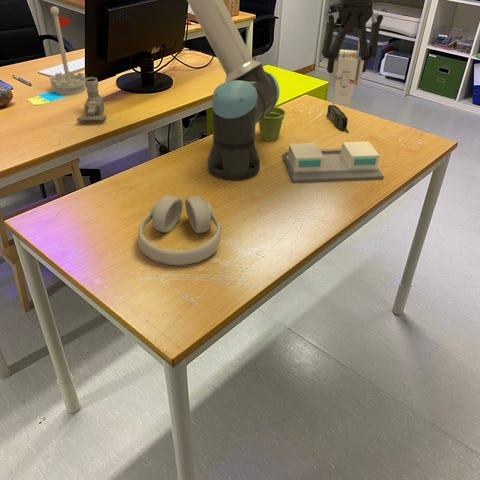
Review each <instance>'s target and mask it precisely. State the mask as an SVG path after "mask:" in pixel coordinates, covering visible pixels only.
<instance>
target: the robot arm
mask: <svg viewBox="0 0 480 480" xmlns="http://www.w3.org/2000/svg"><path fill="white" fill-rule="evenodd" d="M374 1H375V0H340V6H339V8H338V10H337V11H336V12H328V13H326V27H325V33H324V38H323V45H322V48H321V55H322V57H324V58H325V59H327V67H326V71H327V73H328V74H329V79H328V84H329V86H330V87H331V88H335V80H336V71H337V64H338V59H337V55H339V51H340V48H342V47H341V46H342V44H343V42H344V39H345V38H346V35H347V34H348V33H349V31H350V30H357V34H358V42H359V52H360V56H361V57H358V64H357V71H356V77H355V83H354V86H355V87H357V88H358V87H361V82H362V75H363V73H366V71H367V65H368V62H369V61H370V59H371V58H375V57H376V56H377V53H378V52H377V51H378V45H379V44H378V43H379V35H380V29H381V28H380V27H381V24H382V23H383V19H384V15H383V14H381V13H379V12H375V11H374V10H373V6H374ZM186 2H187V3H188V5H189V7H190V9H191V11H192V12H193V14H194V15H193V16H195V18H196V20H197V22H198V24H199V26H200V28H201V30H202V31H203V33H204V35H205V37H206V39H207V41H208V43H209V45H210V47H211V48H212V50H213V52H214V54H215V56H216V58H217V60H218V62H219V64H220V66H221V67H222V69H223V70H222V71H224V73H225V74H226V77H225V80H224V82H222V83H220V84H219V85H217V86H216V87H215V88H214V90H213V92H212V101H211V107H212V139H213V140H212V145H211V148H210V151H209V154H208V156H207V162H206V163H207V164H206V166H207V171H208V172H209V174H210V175H212V176H213V177H216V178H217V179H218V178H219V179H222V180H227V181H243V180H248V179H250V178H252V177H255V176H256V175H257V174H258V173H259V171H260V168H261V167H260V166H261V165H260V163H261V162H260V157H259V154H258V150H257V146H256V143H255V142H256V140H255V139H256V125H257V124H258V123H259V120H260V119H262V118H263V117H264V116H265V115H266V114H268V113H270V112H271V111H272V109H273V108H274V107H276V105H277V103H278V102H279V98H280V85H279V83H278V80H277V79H276V78H275V76H274V75H273V74H272V73H270V72H268V71H266V70H265V69H264V67H263V65H262V62H260V61H257V60H255V59H253V57H252V55H251V53H250V51H249V49H248V48H247V45H246V43H245V42H244V39H243V37H242V35H241V34H240V32H239V29H238V27H237V25H236V24H235V22H234V19H233V18H232V15H231V14H230V11H229V10H228V8H227V5H226V4H225V1H224V0H186ZM338 18H339V21H340V25H339V26H338V27H339V28H338V32H337V34H336V36H335V38H334V41H333V37H334V31H335V25H336V24H335V23H337V20H338ZM369 21H371V26H370V35H369V45H368V40H367V39H368V38H367V25H366V24H367V23H368V22H369ZM332 41H333V43H332Z"/></svg>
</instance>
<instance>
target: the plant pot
mask: <svg viewBox="0 0 480 480" xmlns="http://www.w3.org/2000/svg"><path fill="white" fill-rule="evenodd" d="M286 115H287V111H286V110H285V109H284V108H282V107H279V106H274V108H273V109H272V111H271V112H270V113H268V114H266V115H265V116H264V117H263V118H262V119H260V120H259V121H258V126H259V127H258V129H259V136H260V137H259V138H260V139H261V140H264V141H266V140H267V141H269V142H272V141H277V140H278V139H279V138H280V134H281V133H280V132H281V128H282V125H283V124H282V123H283V120H284V118H285V116H286Z"/></svg>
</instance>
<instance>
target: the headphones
mask: <svg viewBox="0 0 480 480" xmlns="http://www.w3.org/2000/svg"><path fill="white" fill-rule="evenodd" d="M183 206H184V207H183ZM183 208H185V212H186V215H187V216H186V217H187V218H188V222H189V224H190V226H191V228H192V230H193V231H194V232H195V234H202V233H205V232H208V230H210V227H211V224H212V223H214V225H215V227H216V230H215V231H216V232H215V234H214V235H212V237H211V238H210V239H209V240H208V241H206V242H204V243H203V244H201V245H199V246H196V247H194V248H191V249H184V250H170V249H165V248H161V247H159V246H157V245H154V244H153V243H151V242H150V241H149V240H147V238H146V237H145V235H144V230H145V227H146V226H147V224H149V223H150V222H151V221H152V223H151V224H152V227H153V228H154V229H155V230H156V231H159V232H162V233H169V232H171V231H172V230H173V229H175V227H176V226H177V224H178V222H179V220H180V218H181V216H182V214H183V213H182V212H183ZM149 212H150V213H149V214H148V215H147V216H146V217H145V218H144V219H143V220H141V222H140V224H139V226H138V232H137V233H138V234H137V243H138V244H137V245H138V247H139V248H140V250H141V252H142V253H143V254H144V255H145V256H146V257H148V258H149V259H151V260H153V261H154V262H155V263H160V264H164V265H170V266H185V265H187V266H189V265H191V264H198V263H200V262H203V260H206V259H208V258H210V257H211V256H212V255H214V253H215V252H216V251H217V250H218V247H219V244H220V239H221V233H222V227H221V224H220V222H219V221H218V219H217V218H216V216H215V212H214V209H213V207H212V204H211V203H210V201H205V200H204V199H203V198H202V197H201V196H200V195H194V196H193V195H192V196H190V197H186V198H185V200H184V203H183V200H182V199H181V198H180V197H178V196H175V195H172V194H165V195H164V196H163V197H162V198H161V199H160V200H156V201H155V202H154V203H153V204H152V206H151V209H150V211H149Z"/></svg>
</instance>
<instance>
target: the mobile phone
mask: <svg viewBox="0 0 480 480" xmlns="http://www.w3.org/2000/svg"><path fill="white" fill-rule="evenodd" d="M326 117H327V118H328V119H329V120H330V121H331V122H332V123H333V124H334V126H335V127H336V128H337V129H339V130H343V131H345V132H346V133H347V134H348V133H349V130H348V129H347V127H348V122H349V121H348V120H349V119H348V117H347V115H346V114H345V113H344V112H343V111H342V110H341V109H340V108H339V107H337V106H336V104H328V106H327V113H326Z"/></svg>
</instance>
